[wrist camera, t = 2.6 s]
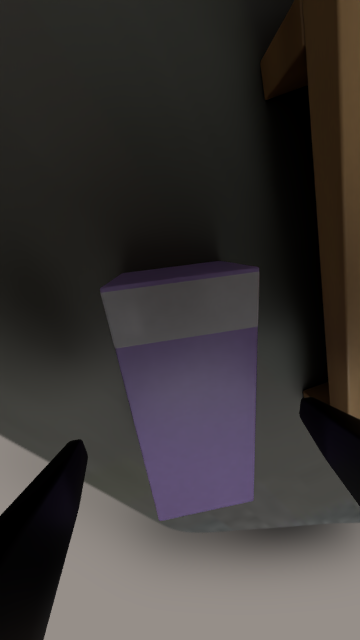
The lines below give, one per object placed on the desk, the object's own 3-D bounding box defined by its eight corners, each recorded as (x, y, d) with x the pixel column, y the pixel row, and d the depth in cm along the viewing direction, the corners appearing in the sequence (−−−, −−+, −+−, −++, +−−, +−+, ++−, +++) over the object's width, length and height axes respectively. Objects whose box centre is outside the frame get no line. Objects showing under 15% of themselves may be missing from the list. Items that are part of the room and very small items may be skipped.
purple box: (158, 447, 14) (158, 522, 10) (120, 273, 10) (98, 287, 6) (227, 434, 14) (254, 501, 10) (221, 260, 10) (261, 266, 6)
